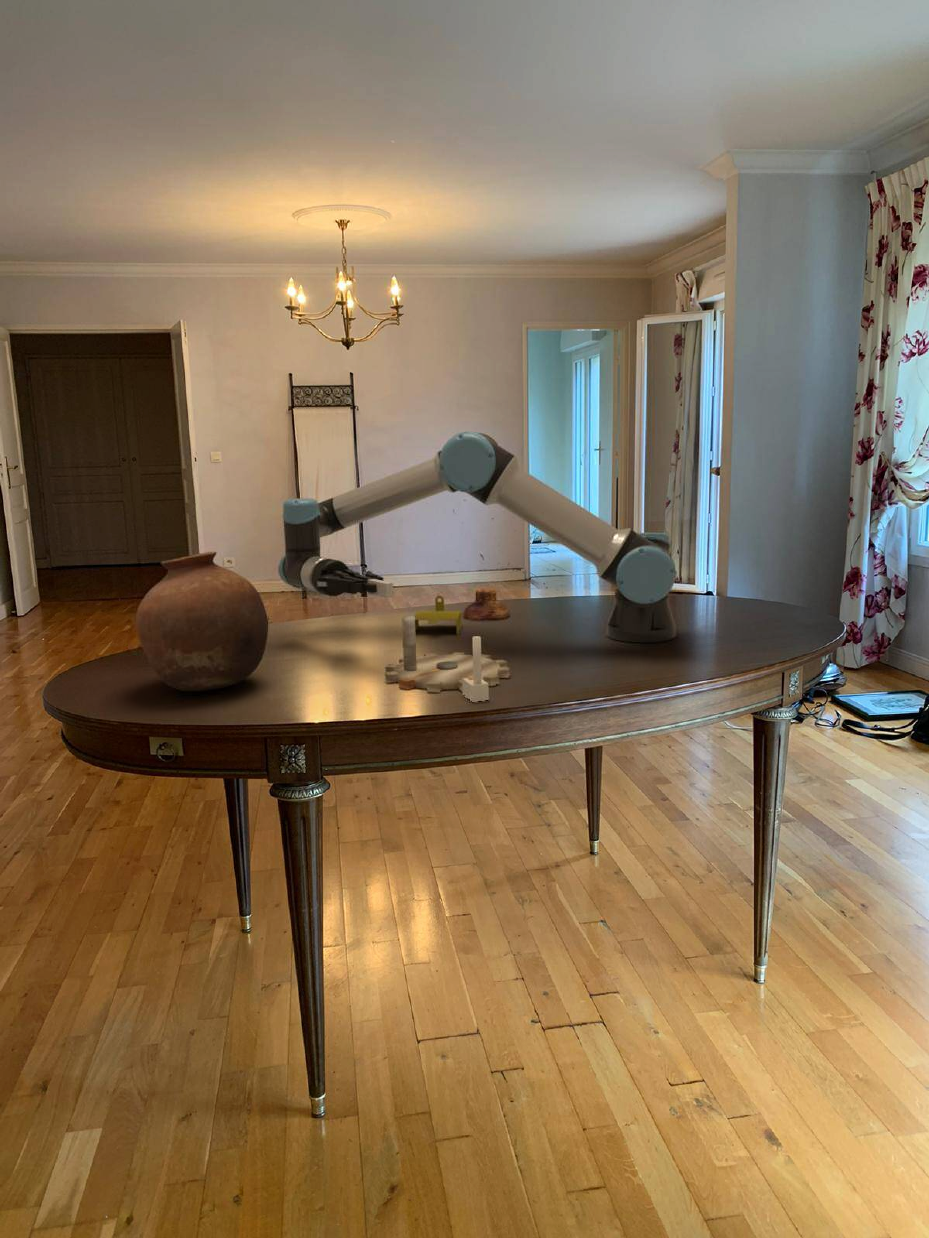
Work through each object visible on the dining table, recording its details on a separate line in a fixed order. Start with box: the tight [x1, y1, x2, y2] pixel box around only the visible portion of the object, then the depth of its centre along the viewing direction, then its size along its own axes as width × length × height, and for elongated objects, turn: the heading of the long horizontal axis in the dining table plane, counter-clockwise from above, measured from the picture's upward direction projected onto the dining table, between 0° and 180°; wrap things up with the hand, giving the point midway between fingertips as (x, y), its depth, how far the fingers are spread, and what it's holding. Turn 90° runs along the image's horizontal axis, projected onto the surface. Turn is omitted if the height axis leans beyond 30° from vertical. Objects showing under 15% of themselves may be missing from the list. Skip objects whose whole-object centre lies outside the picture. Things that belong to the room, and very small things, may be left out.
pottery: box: [135, 550, 269, 692], centre depth 160 cm, size 23×23×25 cm
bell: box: [462, 588, 510, 621], centre depth 221 cm, size 12×12×7 cm
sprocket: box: [384, 615, 511, 693], centre depth 165 cm, size 23×23×12 cm
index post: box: [462, 635, 490, 703], centre depth 150 cm, size 5×3×11 cm, turn 19°
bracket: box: [414, 595, 463, 635], centre depth 204 cm, size 16×8×15 cm
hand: (389, 590), depth 165 cm, fingers closed
